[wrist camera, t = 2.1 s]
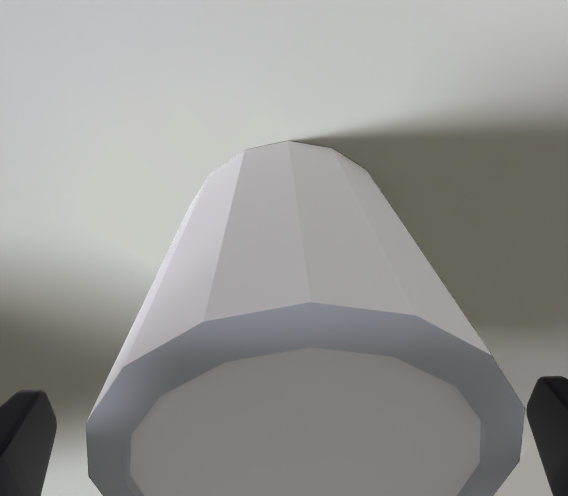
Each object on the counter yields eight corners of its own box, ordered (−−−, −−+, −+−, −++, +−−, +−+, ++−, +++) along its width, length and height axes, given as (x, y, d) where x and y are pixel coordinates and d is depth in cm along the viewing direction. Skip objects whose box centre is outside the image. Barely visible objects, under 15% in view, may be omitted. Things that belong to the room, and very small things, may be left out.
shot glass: (111, 180, 12) (-27, 409, 7) (370, 68, 11) (487, 229, 5) (232, 355, 16) (213, 604, 10) (438, 286, 15) (554, 527, 9)
